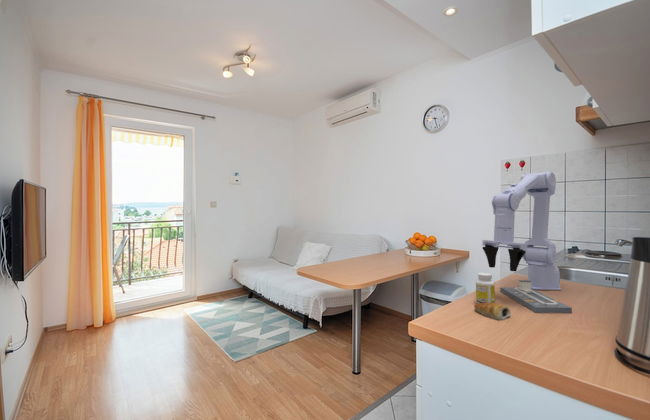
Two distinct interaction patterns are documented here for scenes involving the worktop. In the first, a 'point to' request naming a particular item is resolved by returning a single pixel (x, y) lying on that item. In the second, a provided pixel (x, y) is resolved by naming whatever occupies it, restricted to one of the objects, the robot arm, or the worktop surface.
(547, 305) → the console
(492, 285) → the supplement bottle
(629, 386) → the worktop surface
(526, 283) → the fader tab
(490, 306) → the pastry
